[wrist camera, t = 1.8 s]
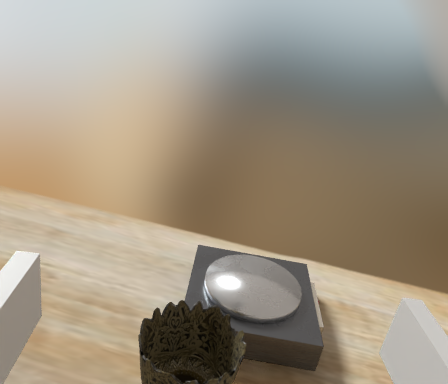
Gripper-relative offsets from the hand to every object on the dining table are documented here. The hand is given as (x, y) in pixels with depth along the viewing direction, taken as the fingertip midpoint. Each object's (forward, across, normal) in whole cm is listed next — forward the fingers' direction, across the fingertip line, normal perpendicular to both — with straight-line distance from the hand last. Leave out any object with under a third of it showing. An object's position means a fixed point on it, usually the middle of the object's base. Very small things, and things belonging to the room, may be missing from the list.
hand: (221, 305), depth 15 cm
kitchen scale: (+22, +6, -19) cm, 30 cm away
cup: (+10, 0, -19) cm, 22 cm away
